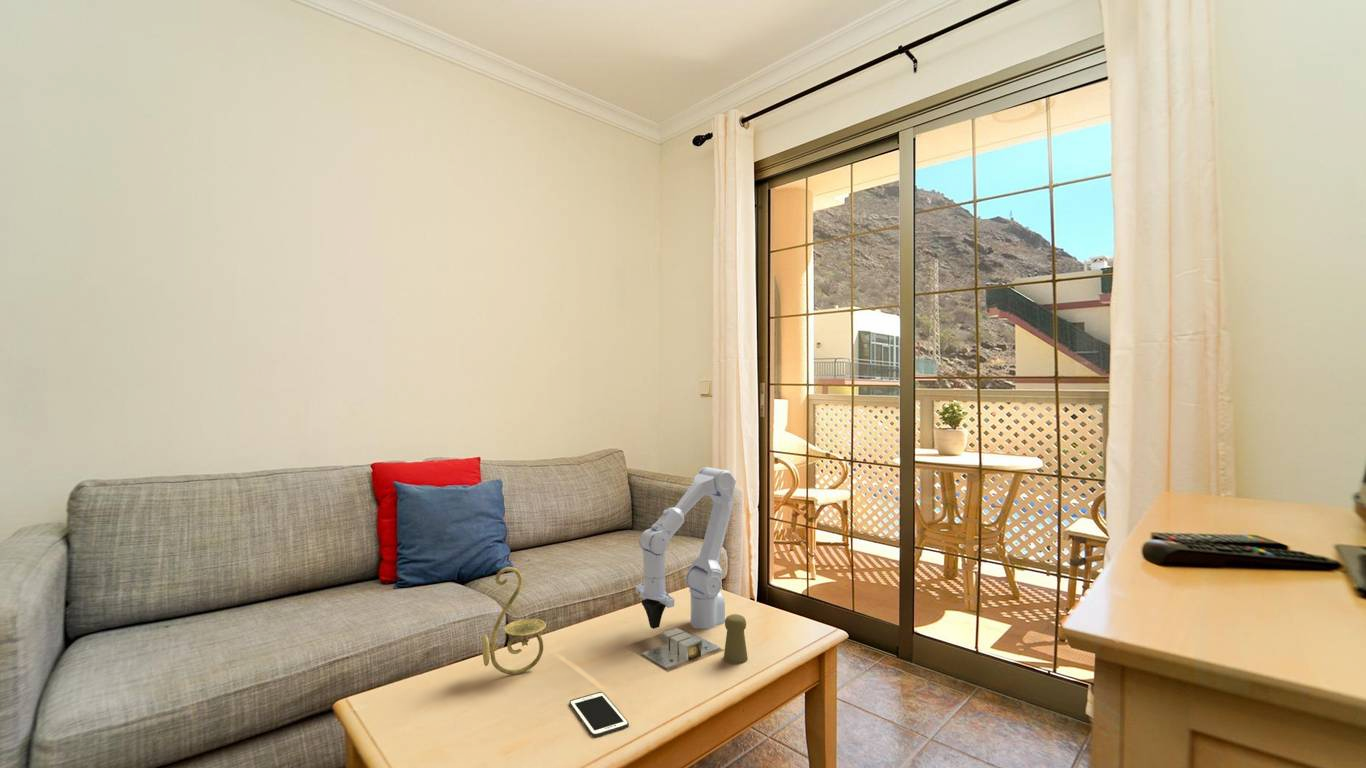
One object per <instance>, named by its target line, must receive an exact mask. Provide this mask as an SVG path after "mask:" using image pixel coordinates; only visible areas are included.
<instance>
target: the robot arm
mask: <svg viewBox="0 0 1366 768" xmlns="http://www.w3.org/2000/svg"><path fill="white" fill-rule="evenodd" d="M736 482H737V481H736V479H735V477H734V475H733V474H732V472H731V471H729V470H728V469H721V468H720V469H719V468H713V467H710V466H705V467H703V468H701V469H700V470H699V472H698V473H697V474H696V475H695V476H694V479H693V483H692V484H690V486H689V487H688V489H687V490H686V492H685V493H684V494H683V495H682V497H681V498H680V499H679V501H678V502H677V504H676V505H675V506H674V507H668V508H667V509H664V510H663V511H662V515H661V516H660V517H659V518H658V519H657V520H656V522H655V523H652V525H651V528H648V529H645V530H644V531H642V533H641V535H640V539H638V544H639V545H638V546H639V547H640V548H641V550H642V556H643V559H642V560H643V561H642V564H643V565H642V566H643V575H642V576H643V584H639V585H636V586H635V594H637V595H640V598H641V599H642V600H641V606H643V608H644V610H645V613H646V616H647V620H648V622H649V623H648V624H649V627H650V628H651V629H653V630H654V629H657V628H660V625H661V620H662V617H663V614H664V611H665V610H666V608H668V609H670V608H673V607H675V598H673V597H672V596H671V595H670V594H669V593H668V592H667V591H666V561H665V560H666V557H665V556H666V551H668V549H669V548H670V547H669V546H670V543H671V542H670V541H671V540H672V538H673V536H674V535H675V534H676V533H677V531H679V529H680V528H681V526H682V525H683V524H684V523H685V515H687V514H688V512H689V511H690V510H691V509H692V508H693V507H694V506H695V505H696V504H697V503H698V502H699V501H700V500H702V498H703V497H704V496H709V497H710V498H711V500H712V502H713V506H712V508H711V512H710V517H709V519H708V524H707V528H706V530H705V531H706V532H705V535H704V539H703V542H702V546H701V549H700V553H699V556H698V557H697V558H696V559H694V560H693V561H692V562H691V565H690V568H689V569H688V570H687V572H686V575H685V584H686V586H687V587H688V589H689V593H690V626H692V627H693V628H695V629H697V630H698V629H699V630H709V629H712V628H715V627H717V626H718V625H721V624H725V619H726V601H725V597H724V596H723V594H722V593H721V590H722V583H723V582H722V577H723V570H722V567H721V566H720V563H719V562H720V561H719V560H720V556H721V553H722V549H723V545H724V541H725V538H726V534H727V530H728V527H729V523H730V519H731V514H732V511H733V507H734V505H735V503H734V502H735V494H734V493H735V492H734V490H735V487H736Z"/></svg>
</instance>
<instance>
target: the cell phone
mask: <svg viewBox="0 0 1366 768" xmlns="http://www.w3.org/2000/svg"><path fill="white" fill-rule="evenodd" d="M568 704H569V706H570V708H571V710H572V711H573V712H574V714H575V715H576V716H577V718H578V720H579V721H580V722H581V723H582V724H583V727H584V728H585V729H586V730H587V732H588V734H589V735H590V736H591V737H592V738H595V739H596V738H600V737H603V736H606V735H609V734H613V733H616V732H619V731H623V730H626V729H628V728H629V727H630V726H629V725H630V724H629V721H628V719H627V718H626V717H625V716H624V715H623V713H621V711H620V710H619V709H618V708H617V707H616V705H615V704H614V703H613V702H612V700H610V698H609V697H608V696H607V695H606V694H605V693H604V692H603V691H598V692H595V693H590V694H588V695H584V696H580V697H577V698H576V697H575V698H573V699H571V700H569V703H568Z"/></svg>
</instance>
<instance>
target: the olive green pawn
mask: <svg viewBox="0 0 1366 768" xmlns="http://www.w3.org/2000/svg"><path fill="white" fill-rule="evenodd" d="M724 626H725V629H726V636H725V642H724V643H725V645H724V651H723V653H724V654H723V660H724V661H725V662H727V663H729V664H733V665H740V664H745V663H746V662H748V651H747V643H746V636H745V630H746V628H747V620H746V618H745V617H744V616H743V615H741V614H738V613H737V614H736V613H734V614H729V615H727V616H726V617H725V622H724Z"/></svg>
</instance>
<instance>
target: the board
mask: <svg viewBox="0 0 1366 768" xmlns="http://www.w3.org/2000/svg"><path fill="white" fill-rule="evenodd" d="M677 628H678V629H680V630H682V631H684V633H685V632H686V633H688V634H690V635H694V634H693V633H691V632H689V631H687V630H685V629H682V628H680V627H677ZM660 646H662V633H661V634H657V635H654V636H651V637H650V636H649V637H647V638H645V639H642V640H638V641H636V642H633V643H630V644H629V643H628V644H627V645H624V647H625V648H626V649H628V650H630V651H632V652H634V653H635V654H637V655H639V656H640V657H642V658H643V659H645V660H647V661H648V662H651V664H654V665H655V666H657V667H659V668H660V669H662V670H663V671H665V672H667V673H669V672H671V671H674V670H677V669H680V668H682V667H685V666H687V665H690V664H693V663H695V662H698V661H700V660H703V659H705V658H708V657H711V656H714V655H716V654H719V653H721V652H724V651H725V649H723V648H721V647H720V650H717V651H715V652H712V653H709V654H707V655H704V656H702V657H700V656H699V655H697V657H696V658H695V659H691V658H689V657H688V662H686V663H683V664H680V665H678V666H675V667H673V668H670V669H665V668H663V667H662V666H660V665H658V664H657V663H655V662H653V661H652V660H650V659H648V658H647V657H645V656H643V655H642V653H643V652H646V651H649V650H652V649H655V648H658V647H660Z"/></svg>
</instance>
